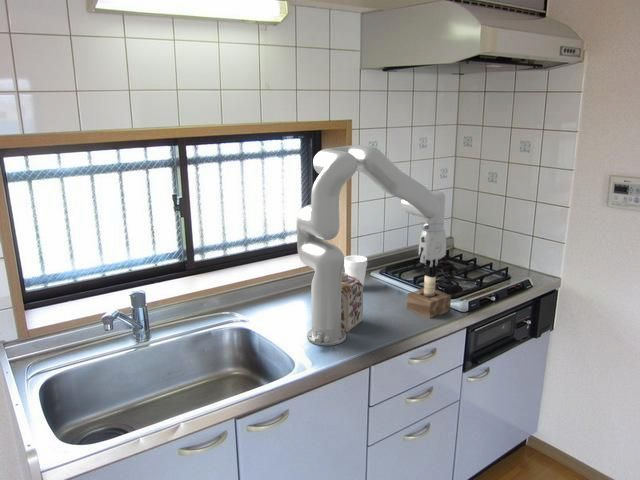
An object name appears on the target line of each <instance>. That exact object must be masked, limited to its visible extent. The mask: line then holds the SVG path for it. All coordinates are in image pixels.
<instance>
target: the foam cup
mask: <svg viewBox="0 0 640 480" xmlns="http://www.w3.org/2000/svg"><path fill="white" fill-rule="evenodd" d="M367 266H368V258H367V257H366V256H364V255H357V254H356V255H355V254H354V255H347V256H344V273H347V274H348V276H353V277H355V278H356V279H357V280H359V281H360V283H361V284H362V285H363V287H364V285H365V284H364V283H365V278H366V271H367Z"/></svg>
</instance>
